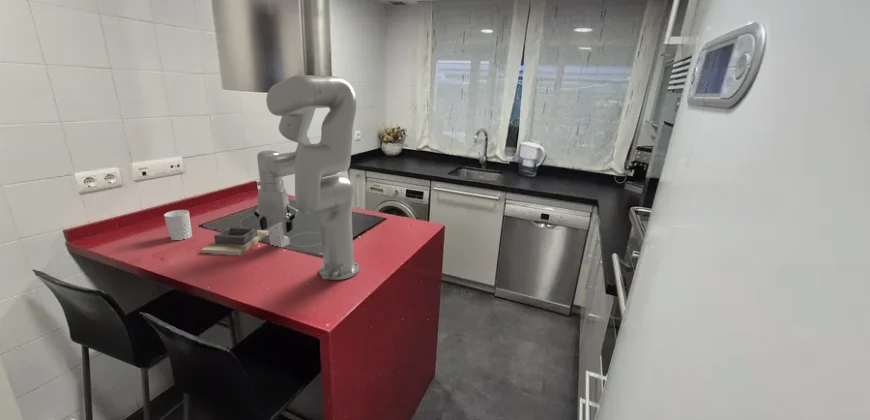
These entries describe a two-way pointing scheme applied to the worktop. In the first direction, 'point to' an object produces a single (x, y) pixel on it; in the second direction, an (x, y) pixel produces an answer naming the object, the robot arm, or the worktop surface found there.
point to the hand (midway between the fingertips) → (276, 229)
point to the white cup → (178, 224)
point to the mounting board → (235, 240)
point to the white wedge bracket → (278, 235)
